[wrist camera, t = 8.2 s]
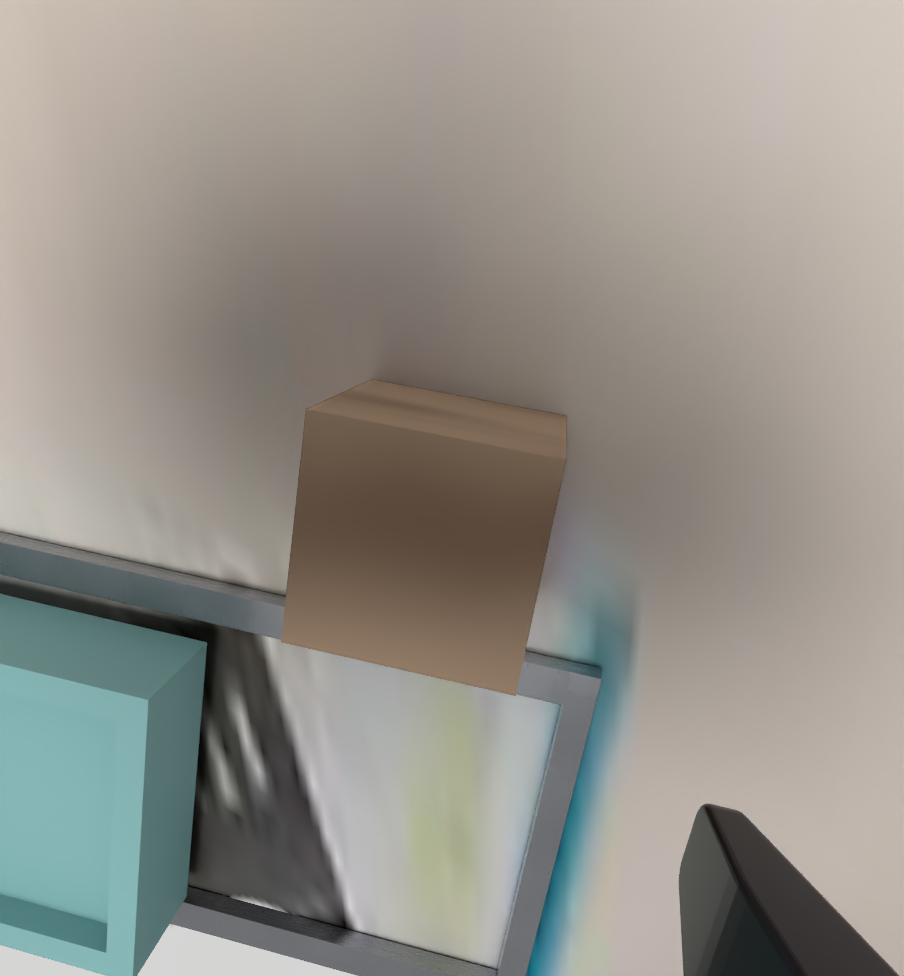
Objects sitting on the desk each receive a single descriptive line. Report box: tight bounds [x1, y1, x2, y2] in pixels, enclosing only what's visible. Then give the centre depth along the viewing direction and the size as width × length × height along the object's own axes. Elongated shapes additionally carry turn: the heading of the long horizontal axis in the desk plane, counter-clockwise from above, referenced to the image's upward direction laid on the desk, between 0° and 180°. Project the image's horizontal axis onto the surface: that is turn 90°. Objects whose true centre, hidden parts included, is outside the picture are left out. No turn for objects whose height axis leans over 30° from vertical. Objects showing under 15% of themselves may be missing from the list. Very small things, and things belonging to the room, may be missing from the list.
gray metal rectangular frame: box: [0, 532, 602, 976], centre depth 22 cm, size 12×22×2 cm, turn 81°
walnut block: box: [281, 379, 567, 696], centre depth 17 cm, size 5×5×5 cm
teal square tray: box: [0, 594, 207, 976], centre depth 21 cm, size 9×9×4 cm
